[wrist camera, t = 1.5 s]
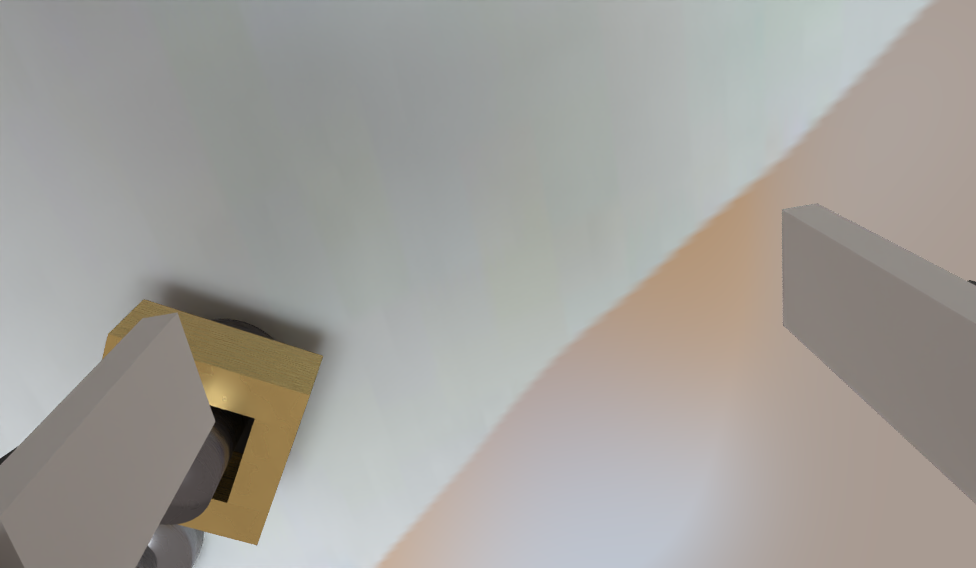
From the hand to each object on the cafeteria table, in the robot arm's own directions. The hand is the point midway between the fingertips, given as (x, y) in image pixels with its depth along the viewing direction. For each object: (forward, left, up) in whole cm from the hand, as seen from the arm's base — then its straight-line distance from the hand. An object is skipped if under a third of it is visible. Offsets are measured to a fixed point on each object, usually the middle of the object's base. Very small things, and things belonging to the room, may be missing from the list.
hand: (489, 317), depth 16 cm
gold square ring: (-8, -17, -19) cm, 26 cm away
